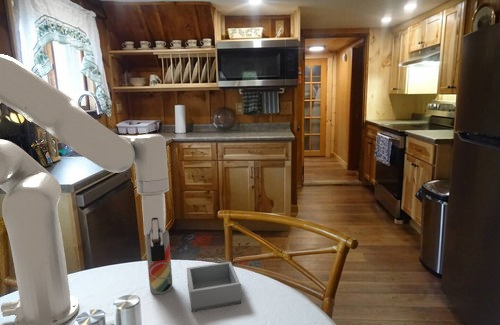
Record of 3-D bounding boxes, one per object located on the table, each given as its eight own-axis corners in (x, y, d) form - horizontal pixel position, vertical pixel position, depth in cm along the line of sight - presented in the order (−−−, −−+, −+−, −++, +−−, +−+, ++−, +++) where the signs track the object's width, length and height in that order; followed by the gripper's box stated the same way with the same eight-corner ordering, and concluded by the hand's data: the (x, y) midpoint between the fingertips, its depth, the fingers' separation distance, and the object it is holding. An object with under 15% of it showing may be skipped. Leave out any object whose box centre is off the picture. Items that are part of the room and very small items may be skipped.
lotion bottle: (166, 295, 83) (160, 218, 79) (145, 293, 84) (138, 217, 80) (176, 283, 88) (171, 211, 85) (156, 281, 90) (150, 210, 86)
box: (191, 312, 76) (190, 291, 75) (187, 285, 87) (186, 267, 86) (241, 303, 79) (240, 283, 78) (231, 278, 90) (230, 261, 89)
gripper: (139, 179, 89) (144, 243, 92) (133, 195, 72) (141, 273, 75) (168, 176, 90) (172, 239, 94) (169, 192, 74) (174, 268, 77)
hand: (158, 253), depth 85 cm, fingers open, 5 cm apart
